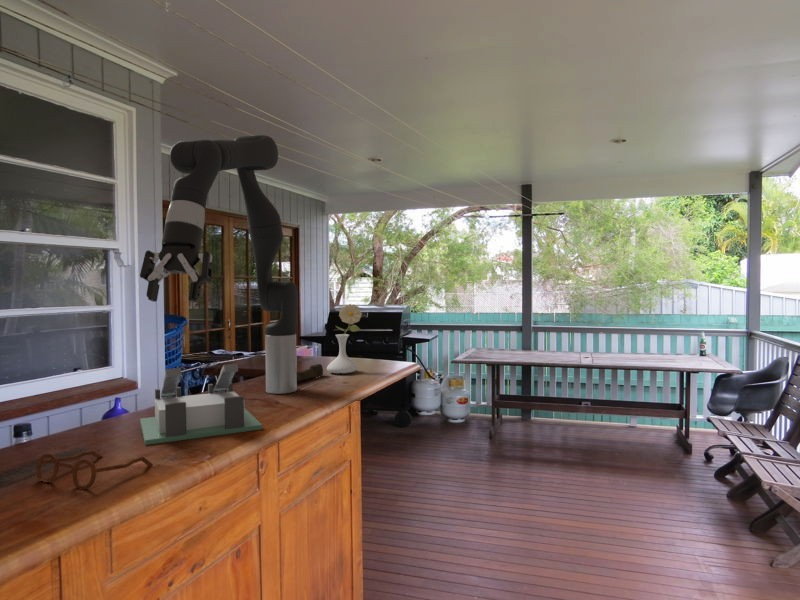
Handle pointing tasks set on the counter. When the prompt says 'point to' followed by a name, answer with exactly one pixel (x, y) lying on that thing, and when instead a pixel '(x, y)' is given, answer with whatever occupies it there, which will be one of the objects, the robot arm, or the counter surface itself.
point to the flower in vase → (342, 361)
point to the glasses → (75, 467)
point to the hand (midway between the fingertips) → (172, 301)
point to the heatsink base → (197, 416)
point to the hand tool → (310, 372)
